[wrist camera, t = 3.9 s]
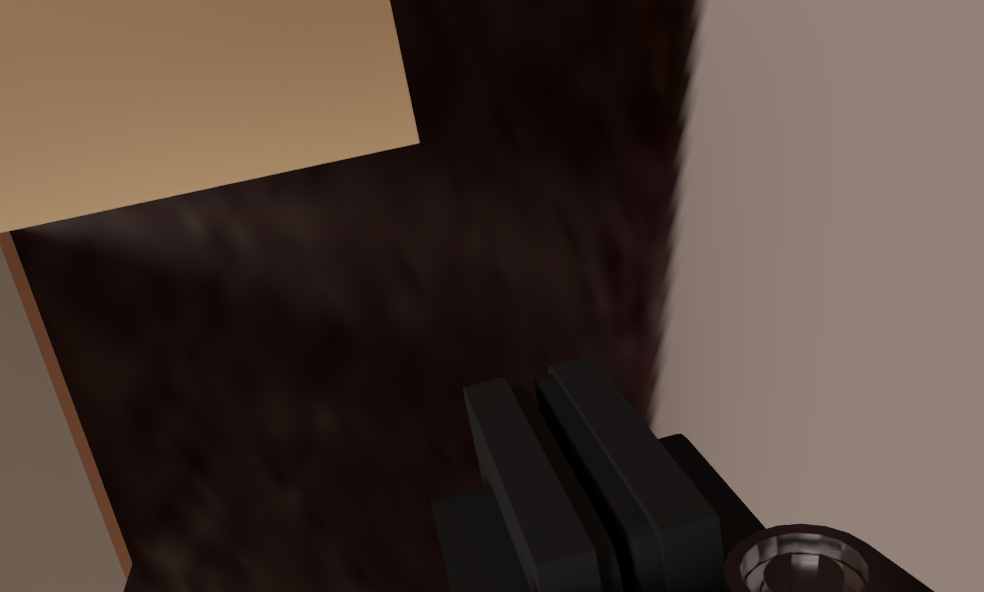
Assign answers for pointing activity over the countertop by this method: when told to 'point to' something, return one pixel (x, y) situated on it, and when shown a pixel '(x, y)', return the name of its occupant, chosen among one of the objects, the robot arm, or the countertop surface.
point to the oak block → (187, 97)
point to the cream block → (47, 463)
